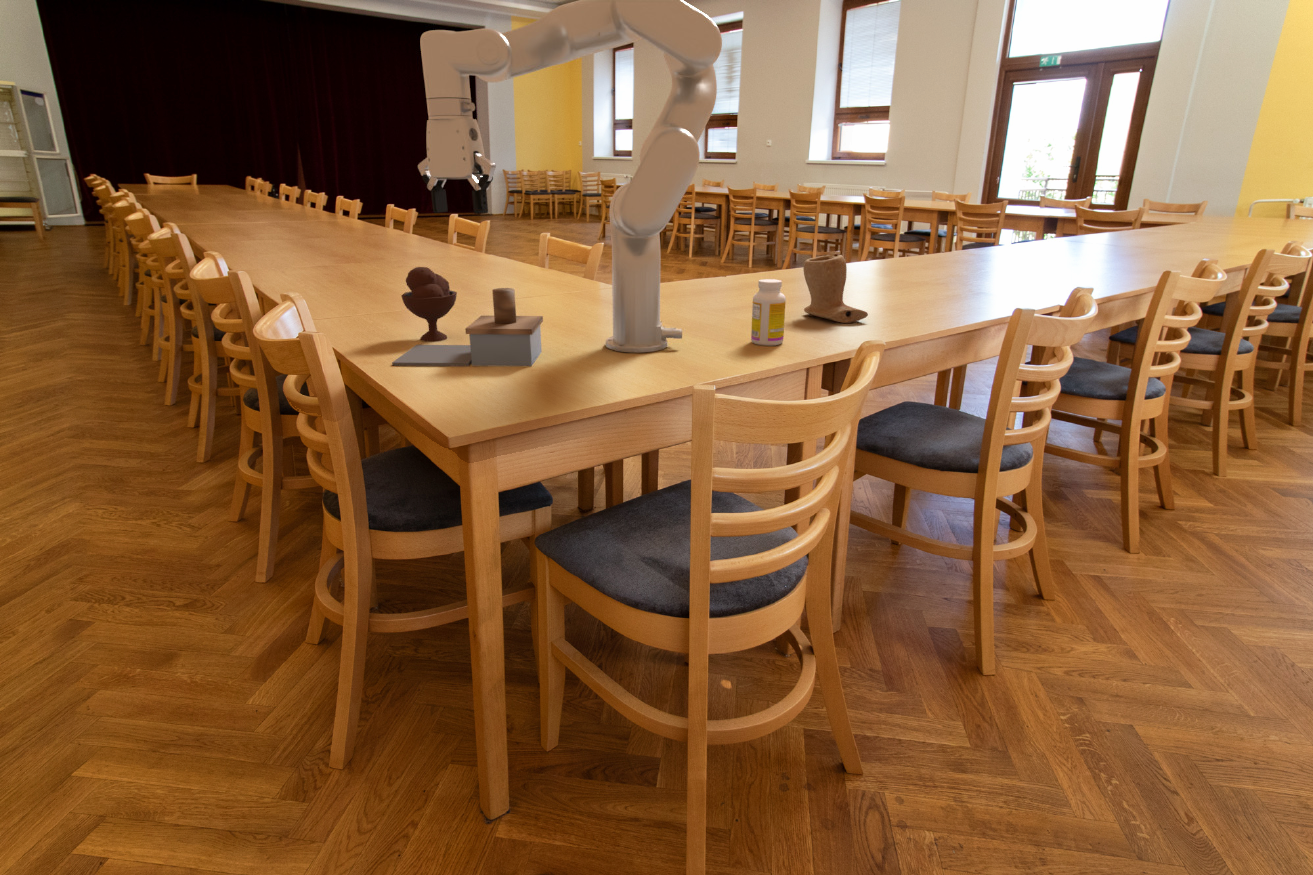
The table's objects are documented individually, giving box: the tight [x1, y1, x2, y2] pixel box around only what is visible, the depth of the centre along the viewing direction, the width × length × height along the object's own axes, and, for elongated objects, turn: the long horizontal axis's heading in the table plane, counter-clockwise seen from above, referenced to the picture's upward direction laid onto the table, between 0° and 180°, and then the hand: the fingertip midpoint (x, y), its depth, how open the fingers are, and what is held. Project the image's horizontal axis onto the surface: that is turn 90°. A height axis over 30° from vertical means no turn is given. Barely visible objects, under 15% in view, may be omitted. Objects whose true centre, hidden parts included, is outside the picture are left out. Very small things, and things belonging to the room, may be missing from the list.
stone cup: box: [803, 254, 869, 324], centre depth 176 cm, size 15×12×15 cm
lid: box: [465, 287, 544, 335], centre depth 138 cm, size 12×12×7 cm
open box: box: [468, 325, 543, 367], centre depth 140 cm, size 11×11×6 cm
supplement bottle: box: [750, 278, 786, 347], centre depth 152 cm, size 7×7×13 cm
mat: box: [391, 344, 472, 367], centre depth 142 cm, size 14×14×1 cm
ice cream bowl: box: [400, 266, 458, 342], centre depth 154 cm, size 11×11×15 cm
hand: (460, 212), depth 136 cm, fingers open, 9 cm apart
